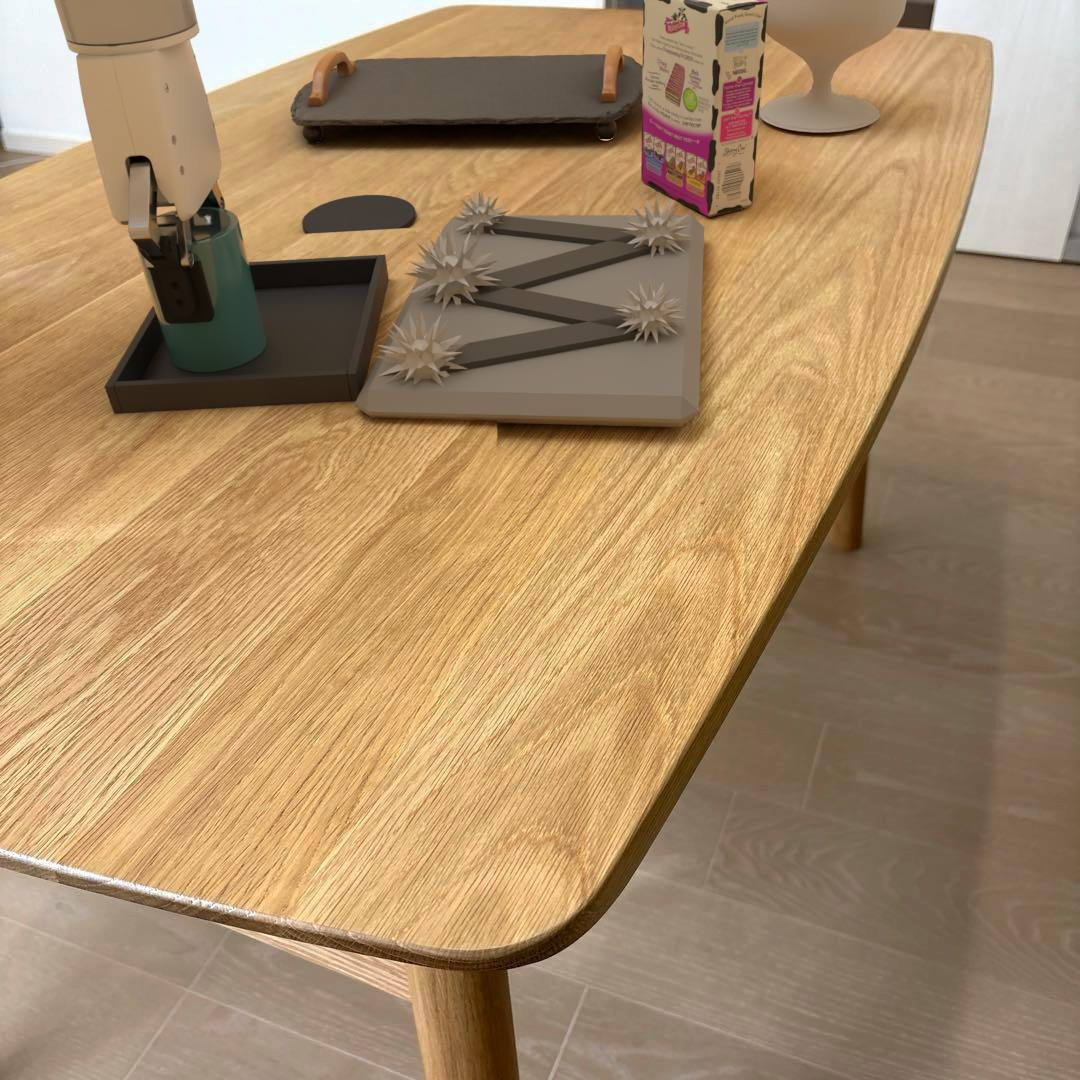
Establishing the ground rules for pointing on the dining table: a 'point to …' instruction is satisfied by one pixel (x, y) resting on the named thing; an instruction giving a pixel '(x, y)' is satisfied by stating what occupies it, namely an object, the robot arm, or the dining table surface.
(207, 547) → the dining table surface
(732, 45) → the candy bar box
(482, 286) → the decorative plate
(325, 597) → the dining table surface
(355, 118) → the serving tray
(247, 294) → the cup
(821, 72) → the chalice
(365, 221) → the coaster
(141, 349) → the tray
